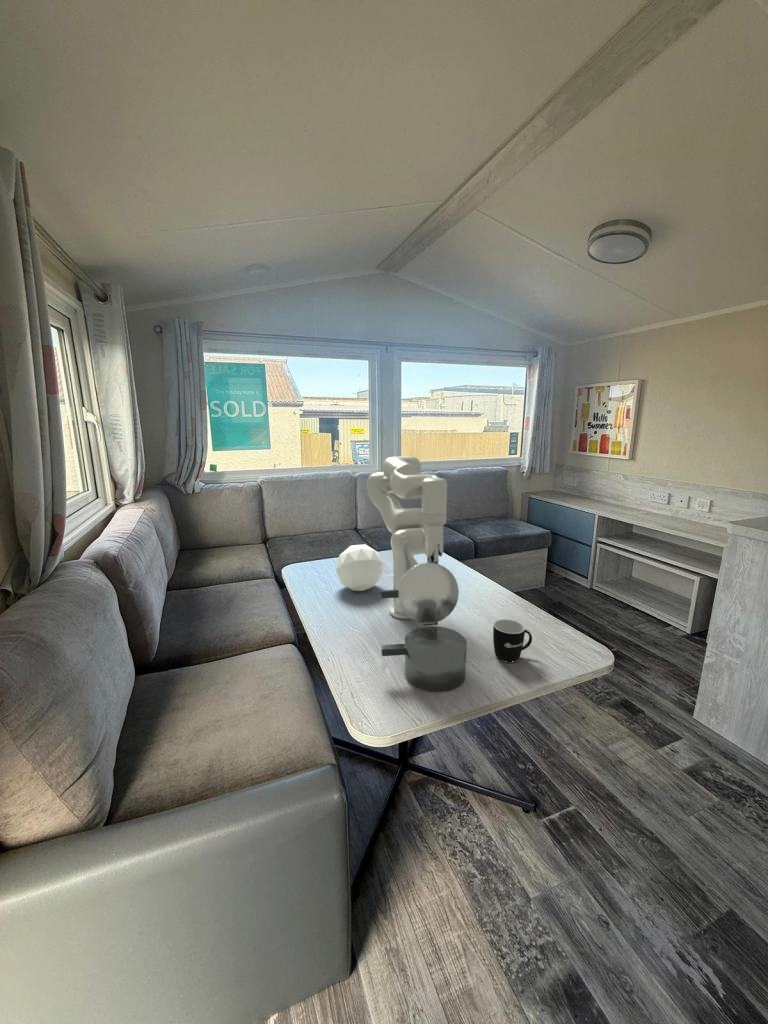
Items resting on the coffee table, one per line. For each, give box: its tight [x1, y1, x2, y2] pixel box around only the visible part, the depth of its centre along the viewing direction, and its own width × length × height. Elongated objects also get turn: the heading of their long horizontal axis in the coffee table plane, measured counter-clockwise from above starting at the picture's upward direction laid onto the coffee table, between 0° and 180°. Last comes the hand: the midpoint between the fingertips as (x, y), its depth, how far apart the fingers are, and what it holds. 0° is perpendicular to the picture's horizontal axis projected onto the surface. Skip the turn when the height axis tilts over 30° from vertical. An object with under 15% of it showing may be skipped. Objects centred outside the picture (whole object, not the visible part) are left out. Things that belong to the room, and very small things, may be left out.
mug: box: [492, 618, 533, 663], centre depth 126 cm, size 12×9×10 cm
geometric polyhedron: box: [335, 543, 383, 592], centre depth 176 cm, size 19×20×20 cm
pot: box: [380, 625, 468, 693], centre depth 118 cm, size 17×24×10 cm
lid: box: [380, 561, 460, 627], centre depth 125 cm, size 19×23×2 cm
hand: (432, 574), depth 133 cm, fingers closed
